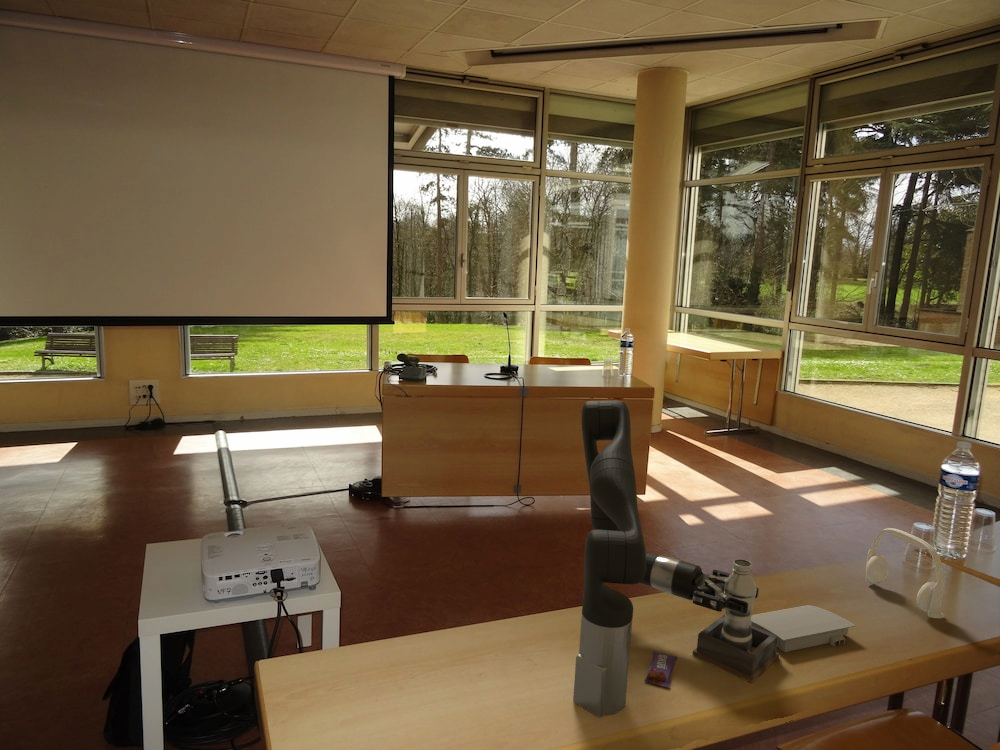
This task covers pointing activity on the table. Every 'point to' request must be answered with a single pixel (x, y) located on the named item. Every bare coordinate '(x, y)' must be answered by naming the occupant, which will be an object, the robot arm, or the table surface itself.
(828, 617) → the white router
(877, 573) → the headset
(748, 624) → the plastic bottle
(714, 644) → the open square tray
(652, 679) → the snack package
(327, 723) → the table surface
